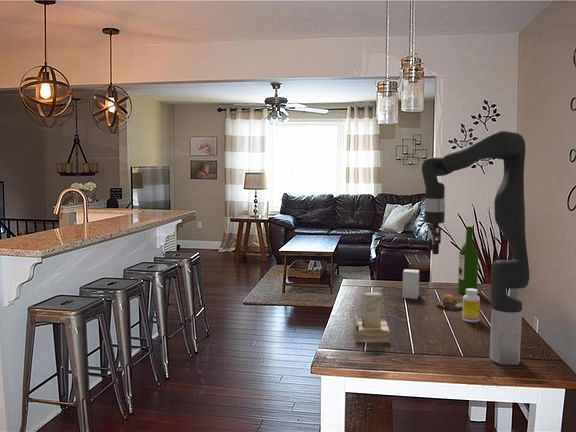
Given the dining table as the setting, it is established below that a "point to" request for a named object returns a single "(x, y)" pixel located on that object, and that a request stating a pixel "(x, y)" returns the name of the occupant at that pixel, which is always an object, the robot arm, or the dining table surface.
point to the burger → (450, 303)
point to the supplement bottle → (471, 306)
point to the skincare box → (371, 309)
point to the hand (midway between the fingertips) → (433, 252)
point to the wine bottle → (468, 264)
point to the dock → (371, 332)
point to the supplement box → (410, 284)
